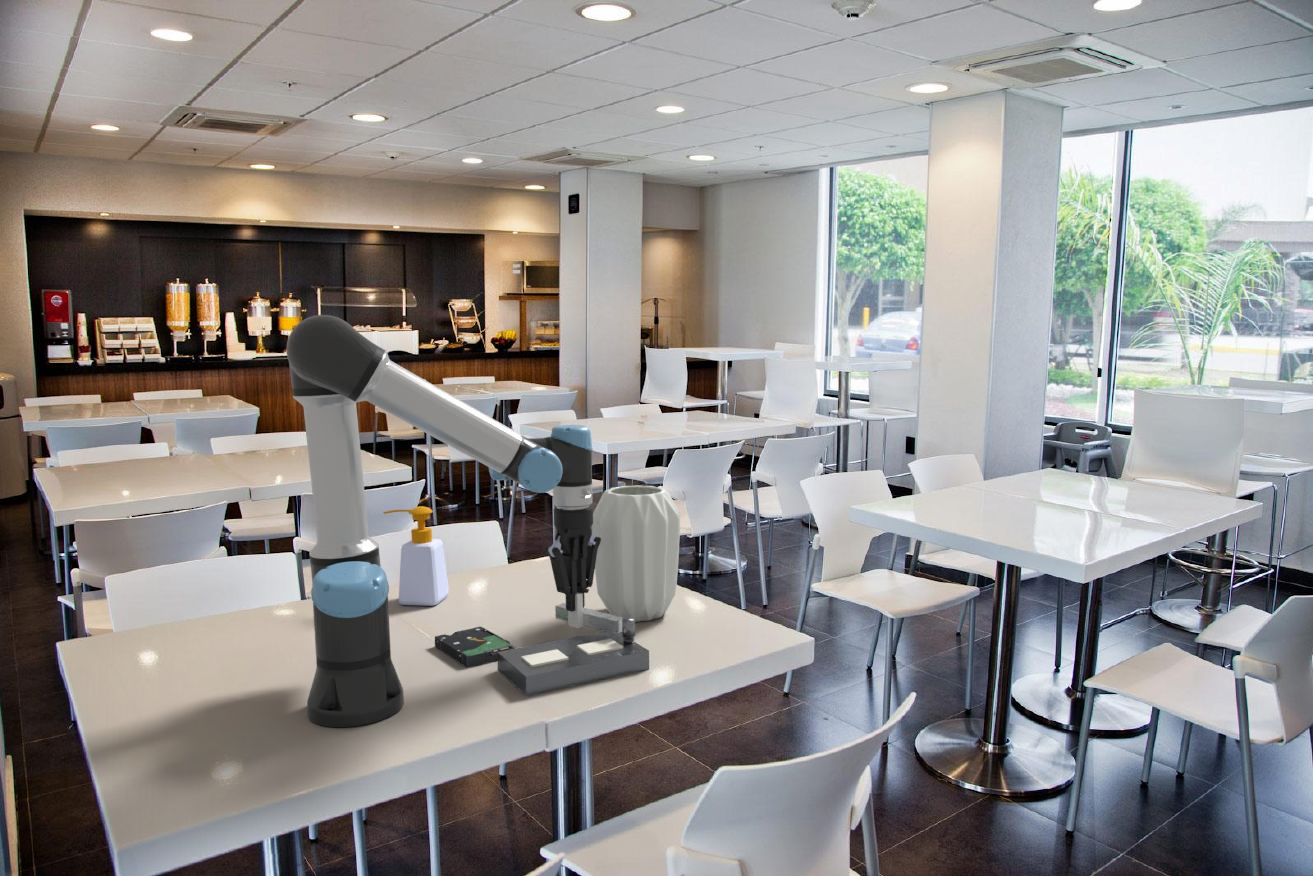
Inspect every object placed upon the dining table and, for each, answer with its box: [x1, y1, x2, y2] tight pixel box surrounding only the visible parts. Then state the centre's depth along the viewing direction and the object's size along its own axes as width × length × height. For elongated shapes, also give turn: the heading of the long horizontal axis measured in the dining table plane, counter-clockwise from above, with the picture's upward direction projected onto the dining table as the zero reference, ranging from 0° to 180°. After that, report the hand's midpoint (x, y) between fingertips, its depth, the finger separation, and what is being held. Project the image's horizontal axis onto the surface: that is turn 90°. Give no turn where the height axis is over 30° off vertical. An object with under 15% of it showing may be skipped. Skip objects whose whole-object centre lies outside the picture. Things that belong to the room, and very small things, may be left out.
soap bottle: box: [382, 505, 450, 607], centre depth 210 cm, size 10×14×22 cm
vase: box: [591, 485, 681, 623], centre depth 198 cm, size 20×20×27 cm
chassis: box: [497, 630, 650, 697], centre depth 166 cm, size 24×14×4 cm, turn 120°
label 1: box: [521, 649, 569, 667], centre depth 162 cm, size 7×5×1 cm
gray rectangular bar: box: [555, 602, 636, 638], centre depth 176 cm, size 19×2×3 cm, turn 51°
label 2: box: [577, 639, 623, 655], centre depth 168 cm, size 7×5×1 cm
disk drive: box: [434, 626, 515, 669], centre depth 177 cm, size 10×3×15 cm
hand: (575, 625), depth 177 cm, fingers closed
